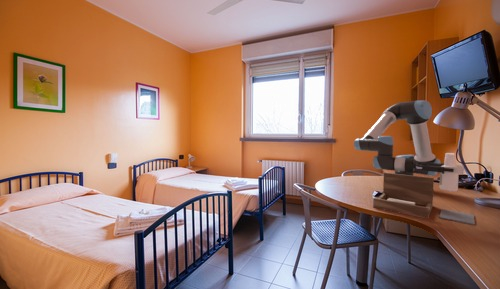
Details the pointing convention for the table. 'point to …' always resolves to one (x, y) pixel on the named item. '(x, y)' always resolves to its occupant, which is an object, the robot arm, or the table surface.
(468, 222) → the mat
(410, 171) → the robot arm
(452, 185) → the spray bottle
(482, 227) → the table surface
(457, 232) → the table surface
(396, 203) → the rack
